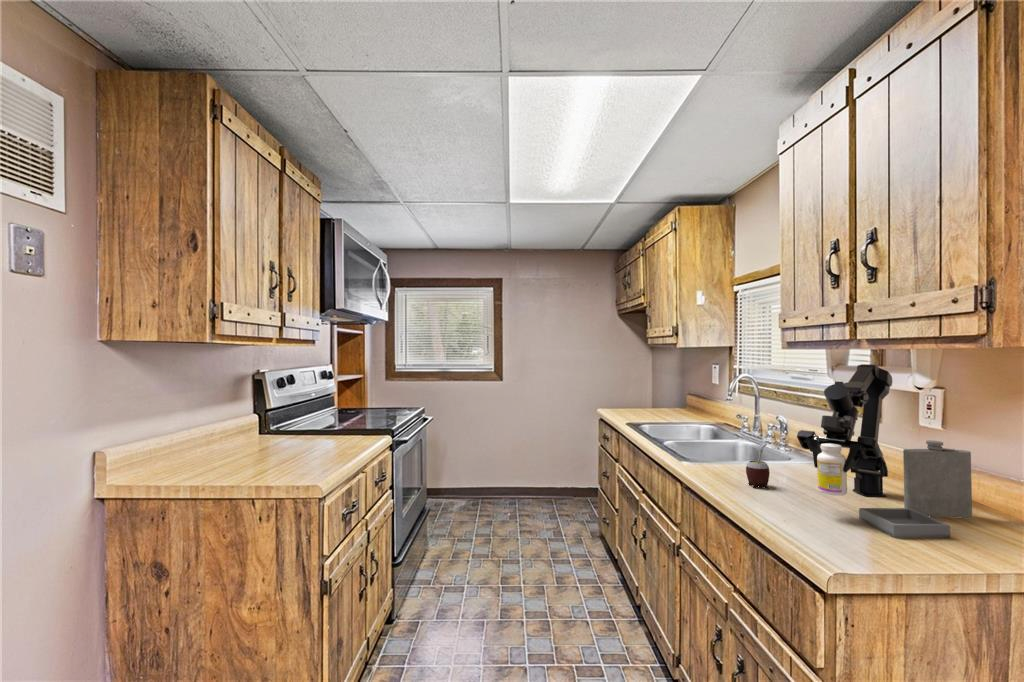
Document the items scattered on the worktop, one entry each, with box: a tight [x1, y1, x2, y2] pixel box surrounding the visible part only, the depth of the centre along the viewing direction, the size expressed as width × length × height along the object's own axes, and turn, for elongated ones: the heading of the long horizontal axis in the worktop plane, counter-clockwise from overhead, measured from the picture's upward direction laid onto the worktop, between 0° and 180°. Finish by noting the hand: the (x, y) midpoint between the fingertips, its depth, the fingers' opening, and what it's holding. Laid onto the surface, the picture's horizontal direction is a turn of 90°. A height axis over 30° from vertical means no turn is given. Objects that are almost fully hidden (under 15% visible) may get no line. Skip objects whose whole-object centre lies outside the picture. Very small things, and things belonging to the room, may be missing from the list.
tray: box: [858, 507, 951, 539], centre depth 128 cm, size 13×13×3 cm
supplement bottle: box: [816, 443, 848, 497], centre depth 137 cm, size 7×7×13 cm
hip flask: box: [902, 439, 973, 519], centre depth 138 cm, size 16×4×20 cm, turn 82°
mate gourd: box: [745, 443, 770, 489], centre depth 167 cm, size 8×8×15 cm
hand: (829, 469), depth 136 cm, fingers closed on supplement bottle, 7 cm apart
